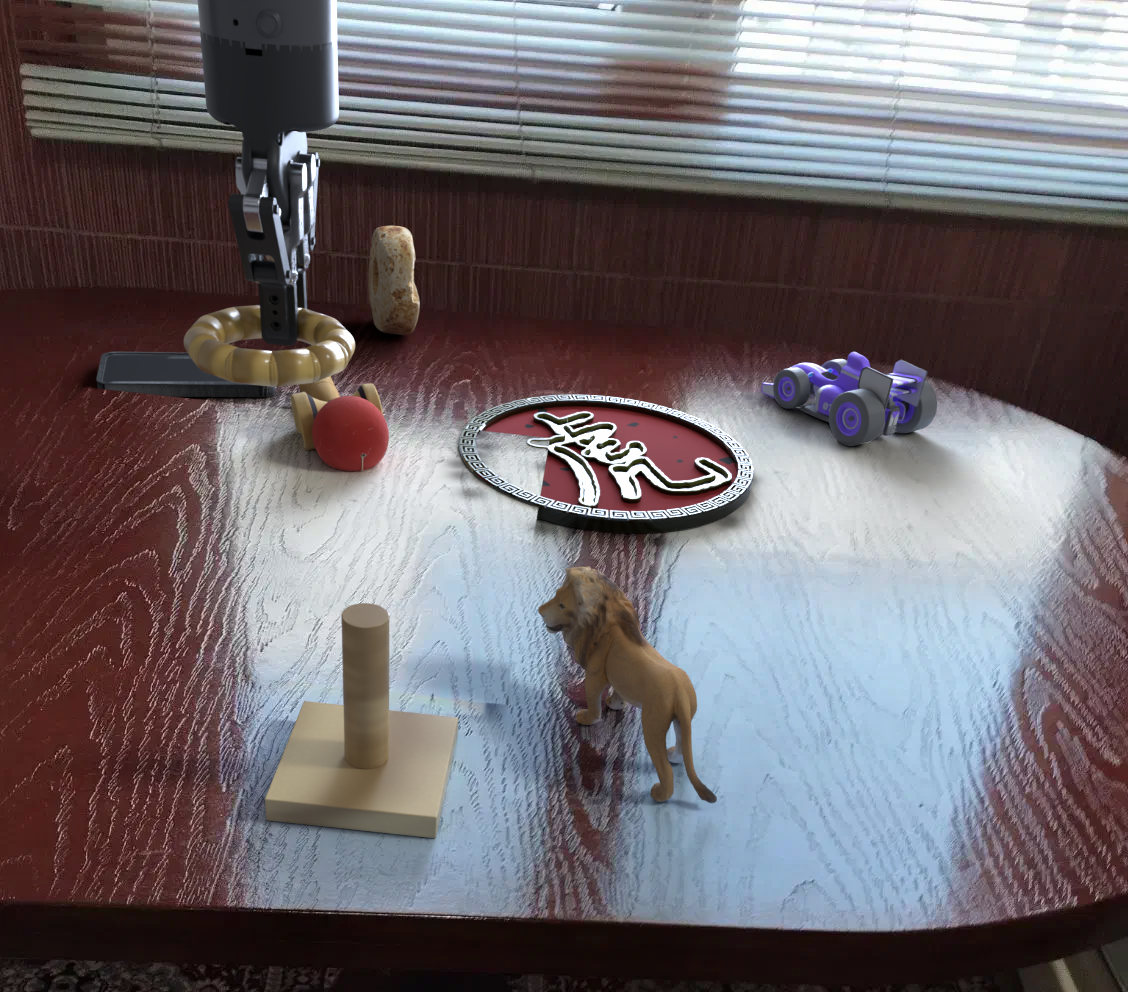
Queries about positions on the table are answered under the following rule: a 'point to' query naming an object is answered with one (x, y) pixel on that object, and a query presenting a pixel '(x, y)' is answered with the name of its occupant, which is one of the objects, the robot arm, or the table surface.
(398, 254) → the stone disc
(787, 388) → the toy race car
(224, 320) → the ring
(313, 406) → the kendama
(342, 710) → the post
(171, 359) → the phone
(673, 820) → the table surface
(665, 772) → the lion figurine
